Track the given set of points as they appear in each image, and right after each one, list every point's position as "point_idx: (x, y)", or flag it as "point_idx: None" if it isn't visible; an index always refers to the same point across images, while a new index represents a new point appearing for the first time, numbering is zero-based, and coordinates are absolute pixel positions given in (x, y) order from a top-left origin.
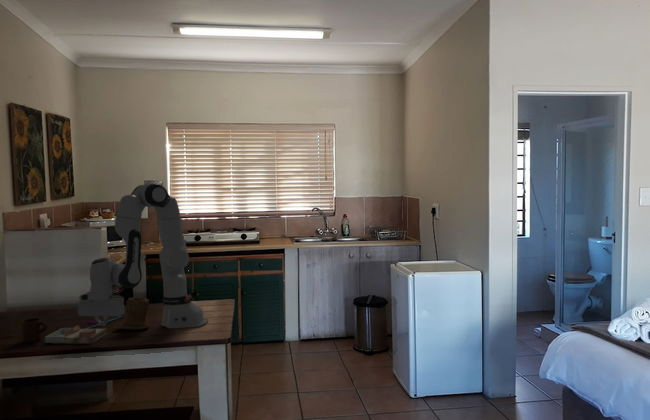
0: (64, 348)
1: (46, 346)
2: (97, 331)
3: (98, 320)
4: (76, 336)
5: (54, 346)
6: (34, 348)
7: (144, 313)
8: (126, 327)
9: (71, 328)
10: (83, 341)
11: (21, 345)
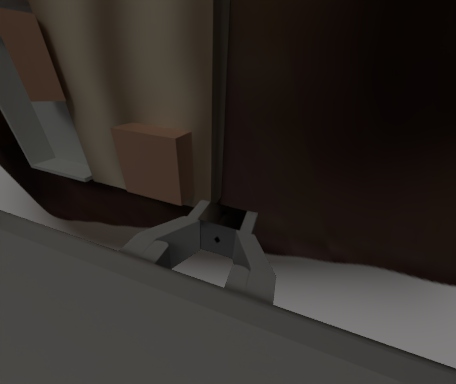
0: None
1: (90, 191)
2: (177, 79)
3: (186, 253)
4: None
5: (112, 197)
6: (76, 201)
7: None
8: None
9: (30, 100)
10: None
11: (21, 163)
